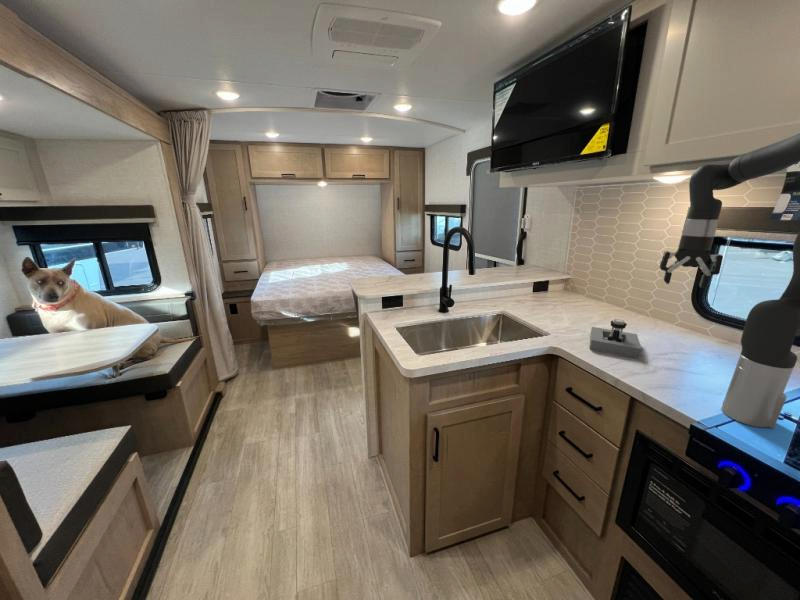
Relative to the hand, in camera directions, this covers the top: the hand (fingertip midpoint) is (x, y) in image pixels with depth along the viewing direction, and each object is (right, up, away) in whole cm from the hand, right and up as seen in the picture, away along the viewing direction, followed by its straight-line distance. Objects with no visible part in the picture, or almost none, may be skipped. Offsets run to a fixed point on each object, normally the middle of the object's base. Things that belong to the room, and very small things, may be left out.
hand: (683, 285), depth 102 cm
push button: (-6, -23, +26) cm, 35 cm away
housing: (-6, -24, +26) cm, 35 cm away
